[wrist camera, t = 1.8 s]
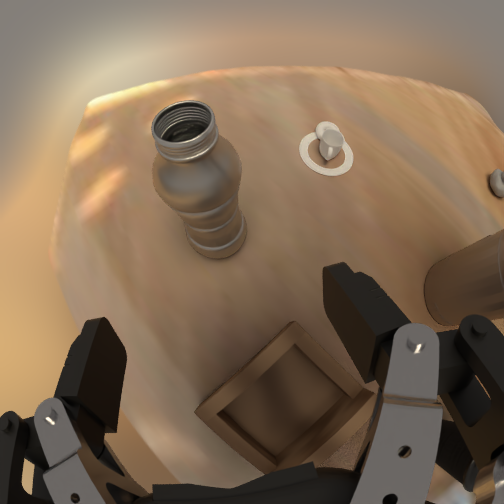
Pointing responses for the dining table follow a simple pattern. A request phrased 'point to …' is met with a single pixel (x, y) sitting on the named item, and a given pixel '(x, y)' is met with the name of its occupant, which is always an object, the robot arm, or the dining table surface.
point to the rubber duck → (497, 182)
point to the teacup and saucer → (327, 148)
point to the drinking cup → (456, 455)
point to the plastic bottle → (199, 177)
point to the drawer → (288, 404)
